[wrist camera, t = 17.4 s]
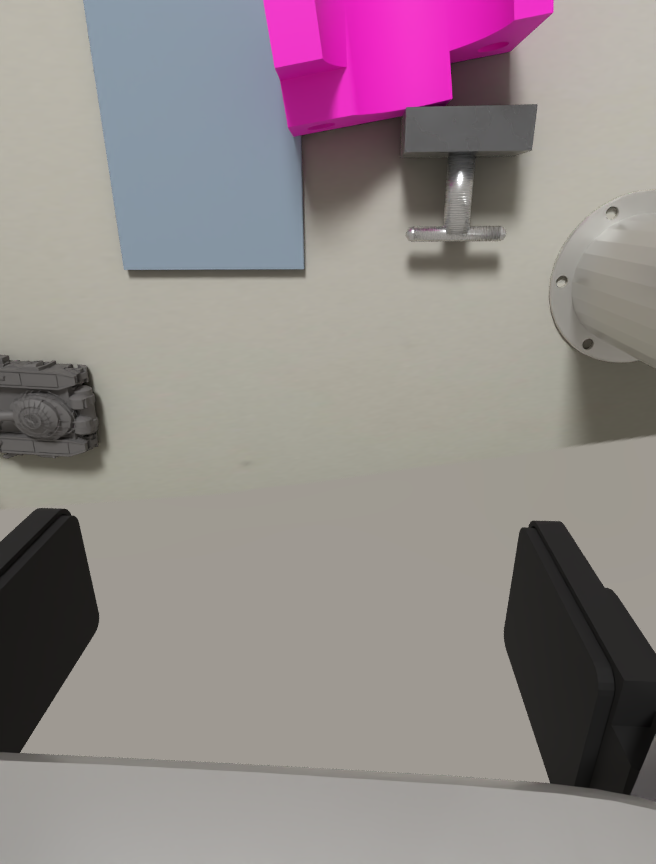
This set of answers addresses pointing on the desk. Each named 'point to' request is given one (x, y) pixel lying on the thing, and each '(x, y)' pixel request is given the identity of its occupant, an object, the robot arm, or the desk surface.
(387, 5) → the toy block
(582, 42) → the desk surface
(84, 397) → the tank toy
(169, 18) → the rubber mat
